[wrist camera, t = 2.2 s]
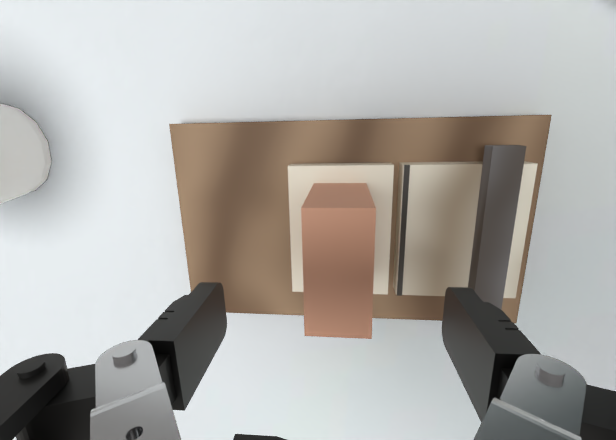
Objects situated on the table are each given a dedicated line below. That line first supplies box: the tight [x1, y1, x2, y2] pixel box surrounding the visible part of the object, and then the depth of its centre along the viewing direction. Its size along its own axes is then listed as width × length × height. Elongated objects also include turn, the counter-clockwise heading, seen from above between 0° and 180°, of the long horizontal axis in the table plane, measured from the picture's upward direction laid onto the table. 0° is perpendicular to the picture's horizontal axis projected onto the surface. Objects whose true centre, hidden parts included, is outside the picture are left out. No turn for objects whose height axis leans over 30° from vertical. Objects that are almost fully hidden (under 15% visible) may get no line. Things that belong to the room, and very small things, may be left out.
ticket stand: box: [169, 115, 551, 323], centre depth 21 cm, size 22×13×4 cm, turn 91°
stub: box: [288, 163, 394, 339], centre depth 18 cm, size 6×8×7 cm
